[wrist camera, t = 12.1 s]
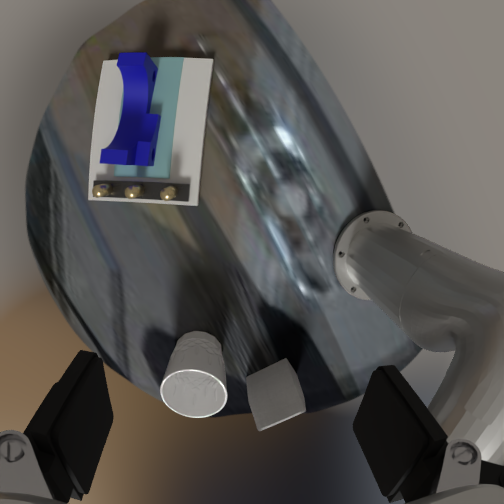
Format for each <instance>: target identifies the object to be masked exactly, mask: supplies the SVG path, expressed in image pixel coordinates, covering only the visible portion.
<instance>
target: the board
mask: <svg viewBox="0 0 504 504" xmlns="http://www.w3.org/2000/svg"><path fill="white" fill-rule="evenodd" d="M150 58H151V60H152V61H153V62H154V64H155V65H156V66H157V68H158V72H157V77H156V82H155V87H154V92H153V97H152V102H151V108H150V113H149V114H159V115H160V116H161V121H160V127H159V133H158V140H157V146H156V154H155V161H154V166H138V165H116V164H101V163H100V155H101V149H104V148H106V147H107V146H109V144H110V143H111V142H112V140H113V139H114V137H115V134H116V132H117V129H118V126H119V123H120V119H121V114H122V107H123V95H124V89H123V79H122V75H121V72H120V70H119V68H118V67H117V61H118V60H108V61H103V66H102V71H101V77H100V83H99V89H98V95H97V102H96V109H95V116H94V125H93V134H92V144H91V157H90V172H89V197H88V200H103V201H125V202H144V203H161V204H177V205H192V206H198V203H199V190H200V179H201V167H202V157H203V146H204V137H205V127H206V118H207V110H208V101H209V93H210V86H211V78H212V71H213V63H214V62H213V59H204V58H184V57H150ZM94 180H115V181H143V182H164V183H182V184H190V196H189V202H184V201H164V200H151V199H128V198H110V197H99V198H96V197H93V194H92V189H93V181H94Z"/></svg>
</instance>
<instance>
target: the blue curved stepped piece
mask: <svg viewBox="0 0 504 504" xmlns="http://www.w3.org/2000/svg"><path fill="white" fill-rule="evenodd" d="M117 67H118V68H119V70H120V72H121V75H122V79H123V89H124V95H123V107H122V114H121V119H120V123H119V126H118V129H117V132H116V134H115V137H114V139H113V140H112V142H111V143H110V144H109V146H107V147H106V148H104V149H101V155H100V163H101V164H116V165H138V166H154V161H155V154H156V146H157V140H158V133H159V127H160V121H161V116H160V115H159V114H149V113H150V108H151V102H152V97H153V92H154V87H155V82H156V77H157V72H158V68H157V66H156V65H155V64H154V62H153V61H152V60H151V58H150V57H149V55H148V54H147V53H120V54H119V57H118V61H117Z"/></svg>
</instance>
